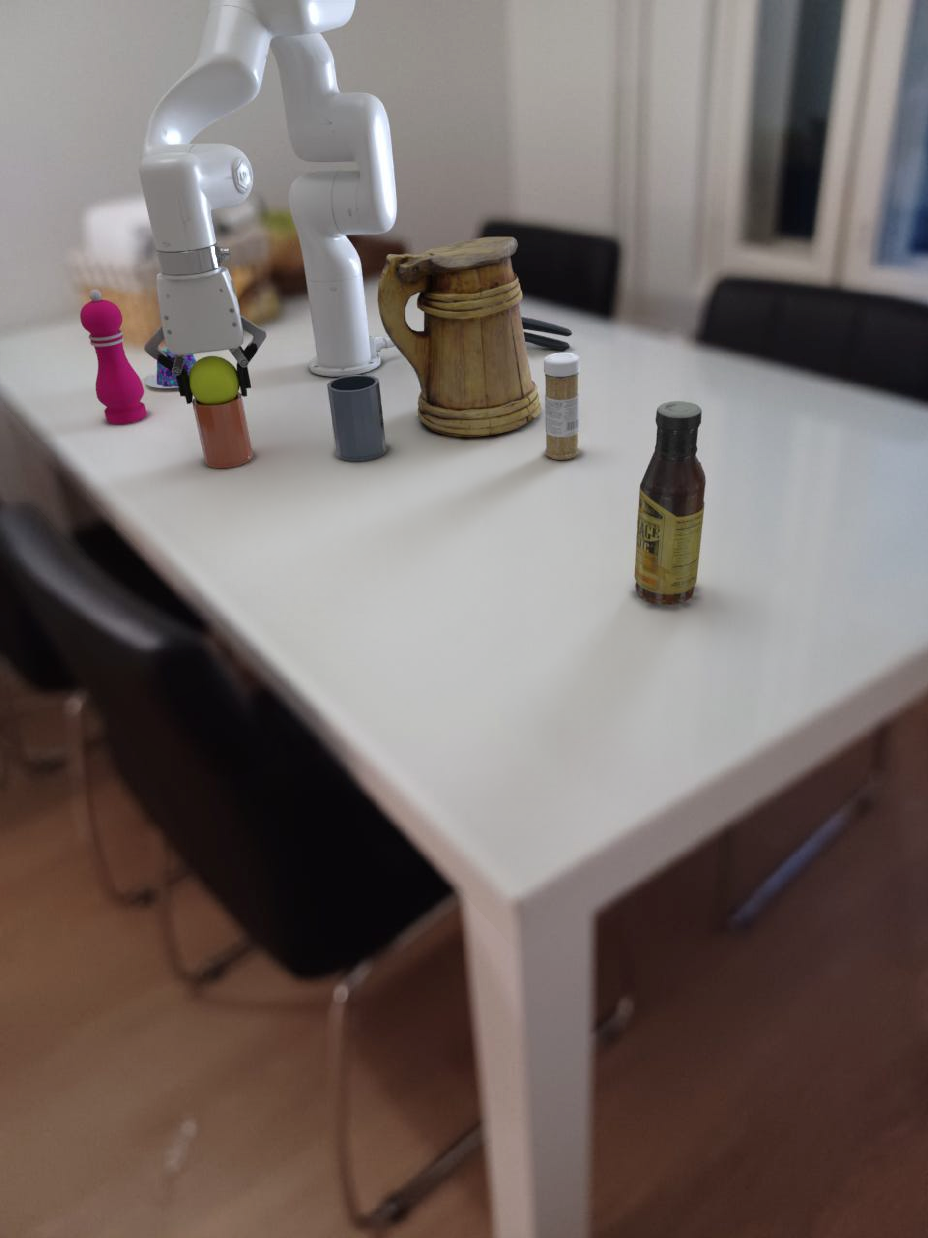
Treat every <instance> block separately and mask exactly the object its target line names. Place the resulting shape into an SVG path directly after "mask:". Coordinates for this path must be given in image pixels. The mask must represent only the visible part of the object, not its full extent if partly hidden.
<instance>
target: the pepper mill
mask: <svg viewBox="0 0 928 1238" xmlns="http://www.w3.org/2000/svg"><path fill="white" fill-rule="evenodd" d="M88 294H89V295H88V296H89V299H90V301H88V302H86V303H85V304H84V305H83V306H82V307H81V310H80V313H79V318H80V323H81V326H82V327H83V329H84V330H86V331H87V332H88V333H89V335H88V339H89V340H90V341H89V344H90V345H91V346H92V347H93V348H94V351H95V354H96V358H97V374H96V379H95V380H96V381H95V393H96V399H97V400H98V401H99V402H100V403H101V404H102V405H104V406H105V409H104V410H103V412H104V415H105V419H106V422H107V423H108V424H111V425H118V426H119V425H120V426H121V425H129V424H133V423H136V422H140V421H142V420H143V419H145V418H146V417H147V414H148V412H147V408H146V405H145V403H144V402H143V401H142V399H143V397H144V395H145V387H144V383H143V381H142V380H141V378H140V376H139V374H138V373H137V372H136V370H135V369H134V367H133V366H132V365H131V363H130V361H129V359H128V358H127V355H126V352H125V349H124V345H123V344H124V343H123V342H124V341H125V337H124V335H123V331H122V330H121V326H122V323H123V314H122V311H121V309H120V308H119V307H118V305H117V304H115V303H114V302H113V301H112V300H111V301H110V300H108V299H103V295H102V292H101V291H100V290H98V289H92V290H90V291H89V293H88Z"/></svg>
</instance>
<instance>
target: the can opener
mask: <svg viewBox="0 0 928 1238" xmlns="http://www.w3.org/2000/svg"><path fill="white" fill-rule="evenodd" d="M521 320H522V326H523V330H527V331H533V332H541V333H546V334H551V335H557V336H563V337H571V336H572V335H573V332H572V330H571V329H569V328H567V327H564V326H561V325H558V324H554V323H552V322H547V321H545V320H544V321H543V320H539V319H535V318H532V317H531V318H529V317H524V316H521ZM527 331H524V337H525V343H529V344H532V345H535V346H538V347H542V348H545V349H550V350H559V351H566V350H567V351H568V350H569V349H570V348H571V345H570V343H569V342H567V341H564V340H560V339H556V338H554V337H553V338H552V337H549V336H544V335H540V334H536V333H532V332H527Z"/></svg>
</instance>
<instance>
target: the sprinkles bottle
mask: <svg viewBox="0 0 928 1238" xmlns="http://www.w3.org/2000/svg"><path fill="white" fill-rule="evenodd" d="M543 372H544V376H545V381H544V382H545V394H544V408H545V409H544V411H545V413H544V414H545V416H544V417H545V435H546V437H545V439H546V441H545V442H546V448H545V454H546V457H548V458H550V459H553V460H560V461H561V460H562V461H565V460H571V459H574V458H575V457H577V456H578V455H579V452H580V450H579V426H580V425H579V423H580V422H579V421H580V419H579V417H580V416H579V414H580V413H579V412H580V411H579V409H580V401H579V399H580V398H579V397H580V395H579V394H580V393H579V372H580V357H579V356H578V355H577V354H575V353H572V352H557V353H556V352H555V353H551V354H548V355H546V356H545V357H544V358H543Z"/></svg>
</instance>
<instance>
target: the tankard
mask: <svg viewBox="0 0 928 1238" xmlns="http://www.w3.org/2000/svg"><path fill="white" fill-rule="evenodd" d="M518 247H519V244H518V241H517V239H516V238H515V237H513V236H485V237H477V238H472V239H466V240H462V241H456V242H451V243H447V244H444V245H441V246H437V247H433V248H430V249H427V250H425V251H423V252H421V253H417V254H409V253H403V254H402V253H401V254H396V253H395V254H393V253H389V254H387V256H386V257H385V264H384V266H383V269H382V271H381V274H380V277H379V280H378V285H377V286H378V287H377V307H378V313H379V317H380V321H381V323H382V326H383V329H384V331H385V334H386V335H387V337H389V338H390V339H391V341H392V342H393V343H394V345H395V346H394V347H396V349H397V350H398V352H399V353H400V354H401V355H402V356H403V357H404V358H405V359H406V361H407V362H408V364H409V365H410V366H411V368H412V369H413V371H414V373H415V375H416V378H417V379H418V383H419V387H420V393H419V395H418V398H417V418H418V419H419V420H420V422H421V423H422V424H424V425H425V426H426V427H428V428H429V430H430V431H431V432H433V433H437V434H440V435H443V436H448V437H458V438H481V437H486V436H492V435H499V434H503V433H507V432H510V431H514V430H517V429H519V428H521V427H523V426H525V425H526V424H528V423H530V422H531V421H533V420H534V419H536V418H538V417H539V415H540V413H541V412H542V404H541V400H540V394H539V392H538V385H537V383H536V382H535V381H533V380H532V374H531V368H530V363H529V356H528V351H527V345H526V342H525V337H524V332H525V331H524V329H523V326H522V320H521V317H522V315H521V314H522V313H521V309H520V302H521V301H522V299H523V291H522V289H521V284H520V282H519V281H520V279H519V276H518V275H517V273H515V272H514V270H513V269H514V268H513V266H512V265H513V264H512V259H511V256H513V255H514V254H515V253H516V252H517V248H518ZM417 294H418V296H417V299H416V307H417V309H419V311H421V312H423V330H415V329H412V328H411V327H410V325H408V324H409V323H407V320H406V308H407V307H406V306H407V304H408V302H409V300H410V299H411V297H413V296H415V295H417Z"/></svg>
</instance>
